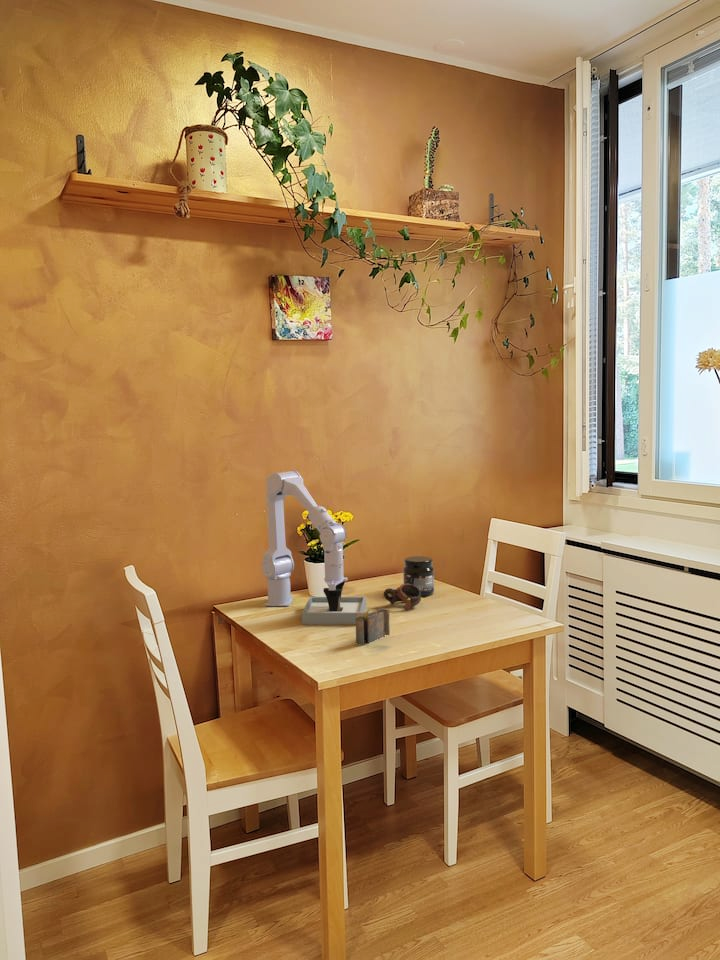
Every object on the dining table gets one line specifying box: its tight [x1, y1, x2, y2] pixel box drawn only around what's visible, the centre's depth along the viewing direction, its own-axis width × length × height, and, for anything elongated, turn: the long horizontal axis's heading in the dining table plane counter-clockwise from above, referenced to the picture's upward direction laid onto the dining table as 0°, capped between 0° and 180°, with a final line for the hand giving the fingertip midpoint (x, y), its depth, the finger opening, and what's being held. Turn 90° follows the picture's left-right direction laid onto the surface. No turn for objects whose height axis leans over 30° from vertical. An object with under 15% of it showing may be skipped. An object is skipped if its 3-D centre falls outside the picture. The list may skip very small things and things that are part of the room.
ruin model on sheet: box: [355, 608, 391, 646], centre depth 203 cm, size 11×3×10 cm, turn 139°
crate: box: [301, 596, 367, 626], centre depth 226 cm, size 18×18×4 cm
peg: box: [329, 597, 340, 612], centre depth 226 cm, size 3×3×6 cm
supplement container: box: [402, 555, 435, 597], centre depth 250 cm, size 10×10×12 cm
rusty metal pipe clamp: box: [383, 583, 422, 611], centre depth 234 cm, size 12×10×8 cm
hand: (335, 607), depth 226 cm, fingers open, 7 cm apart
